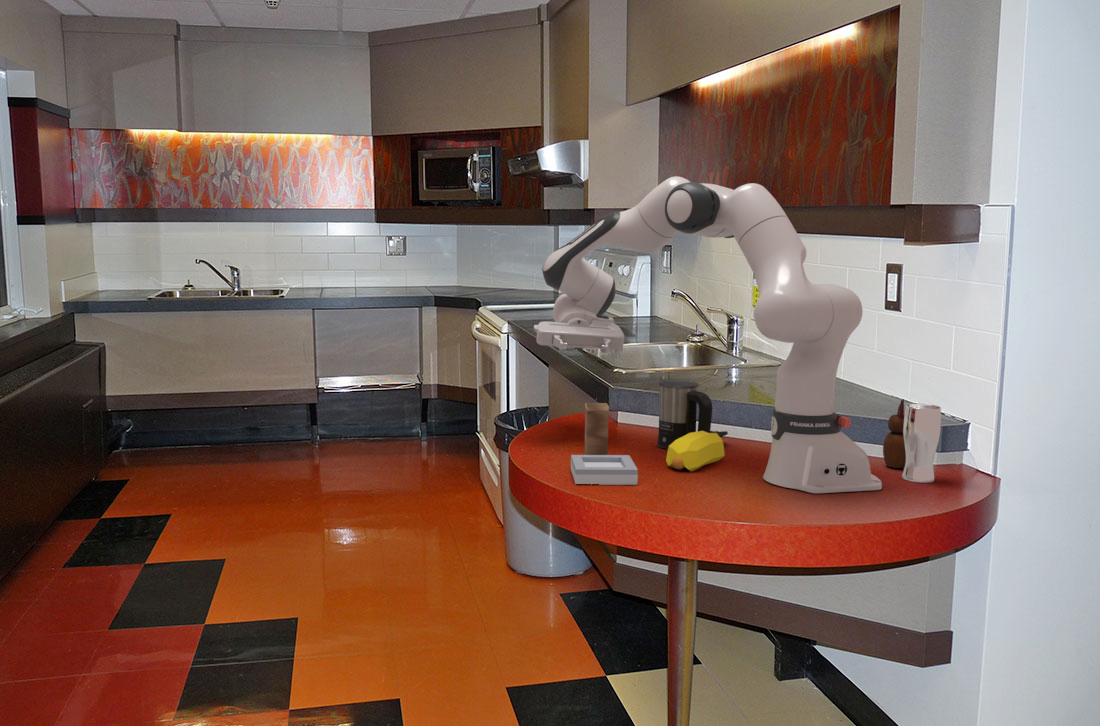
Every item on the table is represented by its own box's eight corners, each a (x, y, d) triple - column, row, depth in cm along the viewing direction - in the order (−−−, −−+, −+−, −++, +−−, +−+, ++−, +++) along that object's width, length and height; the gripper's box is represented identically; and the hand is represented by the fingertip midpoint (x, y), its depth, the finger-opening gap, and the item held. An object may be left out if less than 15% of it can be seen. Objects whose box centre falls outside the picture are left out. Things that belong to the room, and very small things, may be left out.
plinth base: (628, 469, 189) (629, 455, 189) (637, 484, 177) (637, 469, 177) (570, 469, 189) (571, 454, 188) (575, 484, 177) (575, 469, 176)
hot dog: (658, 470, 190) (691, 476, 186) (659, 438, 189) (693, 443, 185) (698, 454, 205) (730, 460, 200) (699, 425, 204) (731, 429, 199)
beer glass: (937, 477, 188) (942, 405, 186) (936, 485, 181) (941, 410, 179) (900, 473, 190) (905, 402, 188) (898, 480, 184) (903, 407, 182)
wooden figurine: (907, 472, 191) (912, 401, 189) (879, 468, 194) (883, 398, 192) (914, 465, 197) (919, 396, 195) (886, 461, 200) (890, 394, 198)
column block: (605, 457, 199) (606, 403, 198) (607, 462, 195) (609, 407, 193) (584, 457, 199) (585, 403, 197) (586, 462, 195) (587, 407, 193)
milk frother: (649, 447, 210) (651, 383, 208) (677, 435, 224) (679, 375, 222) (707, 455, 203) (710, 389, 201) (733, 443, 216) (736, 381, 214)
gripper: (534, 311, 215) (539, 332, 202) (619, 317, 218) (630, 338, 205) (531, 337, 218) (536, 358, 205) (615, 342, 220) (626, 364, 208)
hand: (584, 348), depth 205 cm, fingers open, 8 cm apart
